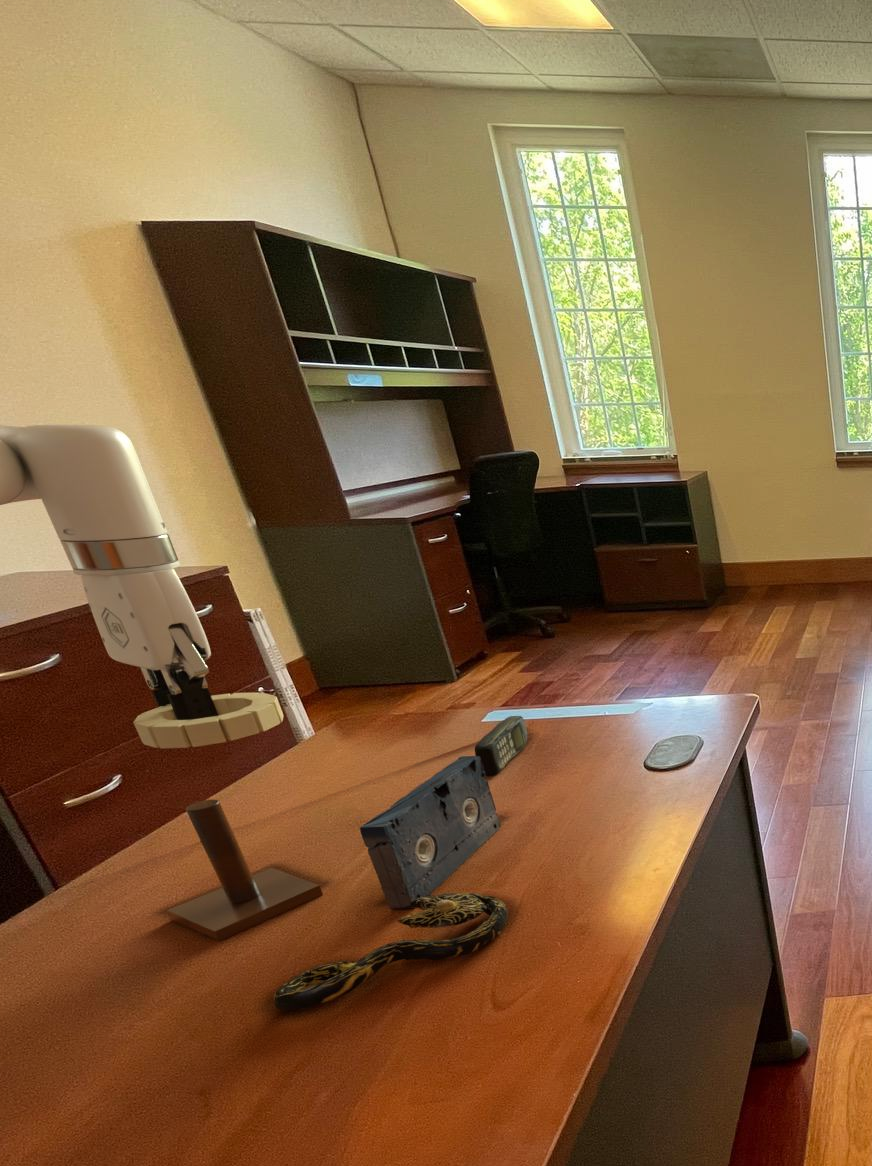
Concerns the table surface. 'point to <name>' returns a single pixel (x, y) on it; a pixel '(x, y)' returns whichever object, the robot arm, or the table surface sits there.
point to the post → (236, 882)
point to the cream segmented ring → (210, 722)
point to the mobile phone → (502, 744)
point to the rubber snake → (400, 948)
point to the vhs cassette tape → (431, 831)
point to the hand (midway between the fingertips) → (193, 721)
